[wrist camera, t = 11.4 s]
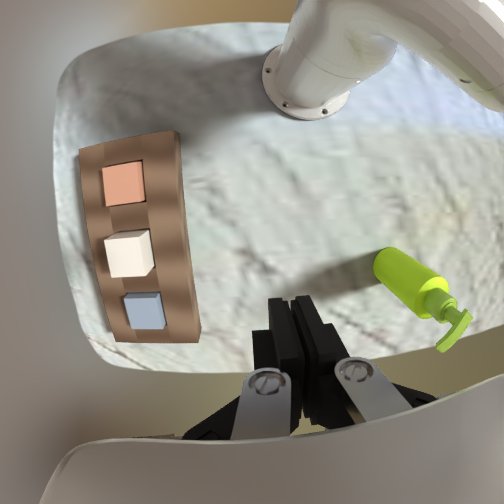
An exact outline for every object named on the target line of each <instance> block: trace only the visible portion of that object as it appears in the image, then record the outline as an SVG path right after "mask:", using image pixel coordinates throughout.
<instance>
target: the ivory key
mask: <svg viewBox="0 0 504 504" xmlns="http://www.w3.org/2000/svg"><path fill="white" fill-rule="evenodd" d="M104 243H105V248H106V254H107V259H108V264H109V268H110V273H111V277H112V278H114V277H136V276H146V275H147V274H148V273H149V272H150V270H151V269H152V268H153V267H154V266H155V264H154V258H153V252H152V245H151V239H150V232H149V230H139V231H129V232H120V233H115V234H114V235H112V236H110V237H109V238H107V239H105V240H104Z"/></svg>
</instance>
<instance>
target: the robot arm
mask: <svg viewBox="0 0 504 504" xmlns="http://www.w3.org/2000/svg"><path fill="white" fill-rule="evenodd" d="M397 44H400V45H402V46H403V47H405V48H406V49H408V50H409V51H411V52H413V53H414V54H417V55H418V56H420V57H421V58H423V59H424V60H425V61H427V62H428V63H429V64H431V65H432V66H434V67H435V68H436V69H437V70H439V71H440V72H441V73H443V74H444V75H445V76H446V77H448V78H449V79H450V80H451V81H453V82H454V83H455V84H456V85H457V86H458V87H460V88H461V89H462V90H463V91H465V92H466V93H467V94H468V95H469V96H471V97H472V98H473V99H474V100H475V101H477V102H478V103H480V104H481V105H483V106H484V107H486V108H488V109H490V110H493V111H496V112H501V113H504V0H298V3H297V6H296V9H295V12H294V14H293V17H292V20H291V23H290V25H289V28H288V31H287V34H286V37H285V40H284V43H283V44H281V45H280V46H278V47H276V48H275V49H274V50H273V51H272V52H271V53H270V54H269V55H268V57H267V58H266V60H265V63H264V65H263V70H262V81H263V86H264V89H265V92H266V94H267V95H268V97H269V98H270V100H271V101H272V102H273V103H274V104H275V105H276V106H277V107H278V108H279V109H280V110H282V111H283V112H285V113H287V114H289V115H290V116H293V117H296V118H299V119H305V120H318V119H323V118H326V117H329V116H331V115H333V114H334V113H336V112H337V111H339V110H340V109H341V108H342V107H343V106H344V104H345V103H346V101H347V99H348V97H349V94H350V90H351V89H352V88H354V87H355V86H357V85H358V84H360V83H361V82H363V81H364V80H366V79H368V78H369V77H371V76H372V75H374V74H376V73H377V72H378V71H380V70H382V69H383V68H384V67H385V66H386V65H388V63H389V62H390V61H391V60H392V58H393V56H394V54H395V51H396V48H397ZM266 71H269V72H270V73H266ZM283 104H285V105H286V107H283ZM322 111H324V112H325V114H323V113H322ZM268 310H269V330H256V331H252V339H253V355H254V371H252V372H251V373H249V374H248V375H247V376H246V377H245V379H244V381H243V386H242V391H241V395H240V396H239V397H237V398H236V399H234V400H233V401H232V402H230V403H229V404H227V405H226V406H224V407H223V408H221V409H220V410H218V411H217V412H215V413H214V414H212V415H211V416H210V417H208V418H206V419H205V420H203V421H202V422H201V423H199V424H197V425H196V426H194V427H193V428H191V429H190V430H188V431H187V432H186V433H185V434H184V436H175V434H165V435H155V436H141V437H122V438H121V437H120V438H115V439H107V440H100V441H94V442H90V443H86V444H82V445H80V446H78V447H76V448H74V449H73V450H71V451H70V452H69V453H68V454H67V455H66V456H65V457H64V458H63V459H62V461H61V462H60V463H59V465H58V467H57V468H56V470H55V471H54V473H53V475H52V477H51V479H50V480H49V483H48V485H47V487H46V489H45V492H44V494H43V496H42V498H41V501H40V503H39V504H504V374H501V375H498V376H495V377H493V378H490V379H487V380H485V381H483V382H480V383H478V384H475V385H473V386H471V387H468V388H466V389H464V390H461V391H458V392H453V393H447V394H440V395H438V396H437V398H435V397H434V396H432V395H430V394H427V393H424V392H420V391H417V390H414V389H410V388H407V387H404V386H401V385H397V384H394V383H391V382H390V381H389V380H388V379H387V377H386V376H385V375H384V374H383V373H382V372H381V370H380V369H379V368H378V367H377V366H376V365H375V364H374V363H373V362H372V361H370V360H368V359H366V358H361V357H350V356H349V354H348V352H347V350H346V348H345V346H344V344H343V343H342V341H341V339H340V337H339V335H338V333H337V331H336V329H335V327H334V326H333V324H332V323H329V324H323V322H322V320H321V318H320V316H319V314H318V312H317V310H316V308H315V306H314V304H313V302H312V299H311V297H310V296H309V295H306V296H296V297H295V300H291V311H290V308H289V304H288V301H283V300H282V298H270V299H268ZM302 409H303V413H304V417H305V418H310V421H311V425H317V424H319V425H321V426H323V427H325V430H324V431H321V432H315V433H308V434H301V435H294V436H290V434H291V433H292V432H293V431H294V430H295V429H296V428H297V427H298V426H299V419H301V411H302Z"/></svg>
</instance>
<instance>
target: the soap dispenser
mask: <svg viewBox="0 0 504 504" xmlns="http://www.w3.org/2000/svg"><path fill="white" fill-rule="evenodd" d="M373 272H374V275H375V276H376V278H377V279H378V280H380V281H381V282H382V283H383V284H384V285H385V286H386V287H387V288H388V289H389V290H390V291H392V292H393V293H394V294H395V295H396V296H397V297H398V298H399V299H400V300H401V301H402V302H403V303H404V304H405V305H406V306H407V307H408V308H410V309H411V310H412V311H413V312H414V313H415V314H416V315H417V316H418V317H419V318H421V319H429V318H431V317H434V318H435V319H436V320H437V321H438V322H439V323H446V322H448V321H449V322H450V323H451V324H452V325H453V326H452V327H451V329H450V330H449V331H448V332H447V334H446V335H445V336H444V337H443V338H442V339H441V340H439V341H438V342H437V343H436V349H437V350H438V351H440V352H441V353H443V352H445V351H446V350H447V349H449V348H450V347H451V346H452V345H453V344H454V343H455V342H456V341H457V340H458V339H459V337H460V336H461V335H462V334H463V332H464V331H465V329H466V328H467V326H468V325H469V323H470V322H471V320H472V319H473V317H472V316H471V314H470V313H469V312H468V310H466V309H464V310H463V312H462V313H461V312H460V311H458V310H457V301H456V299H455V298H453V297H452V296H451V295H449V286H448V283H447V281H446V280H445V279H444V278H443V277H441V276H440V275H438V274H437V273H435V272H434V271H432V270H430V269H429V268H427V267H426V266H424V265H423V264H421V263H419V262H418V261H416V260H415V259H413V258H411V257H410V256H408V255H407V254H405V253H403V252H402V251H400V250H398V249H397V248H394V247H388V248H385V249H383V250H382V251H380V252H379V253H378V255H377V256H376V258H375V260H374V263H373Z"/></svg>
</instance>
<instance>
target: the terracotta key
mask: <svg viewBox="0 0 504 504" xmlns="http://www.w3.org/2000/svg"><path fill="white" fill-rule="evenodd" d="M102 171H103V182H104V192H105V200H106V206H111V205H118V204H126V203H133V202H141V201H143V200H146V192H145V182H144V170H143V162H132V163H127V164H121V165H116V166H111V167H106V168H102Z"/></svg>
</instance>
